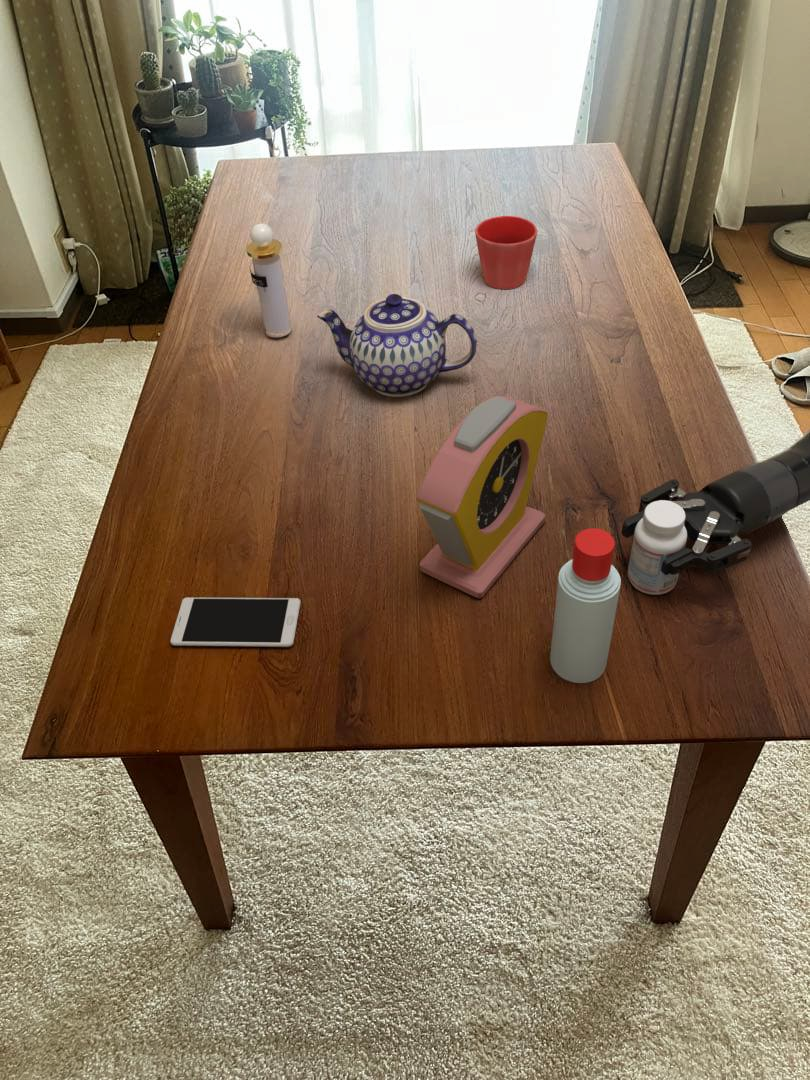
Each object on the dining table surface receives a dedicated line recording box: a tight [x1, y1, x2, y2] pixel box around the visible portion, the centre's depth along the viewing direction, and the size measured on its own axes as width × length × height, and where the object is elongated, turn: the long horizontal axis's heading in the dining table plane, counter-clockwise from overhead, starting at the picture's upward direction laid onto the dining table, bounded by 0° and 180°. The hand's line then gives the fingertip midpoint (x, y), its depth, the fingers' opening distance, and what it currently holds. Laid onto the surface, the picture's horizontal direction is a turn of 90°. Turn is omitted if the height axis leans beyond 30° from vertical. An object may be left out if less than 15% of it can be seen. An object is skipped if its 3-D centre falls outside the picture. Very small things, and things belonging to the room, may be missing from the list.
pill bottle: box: [627, 500, 688, 596], centre depth 107 cm, size 6×6×11 cm
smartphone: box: [169, 596, 302, 648], centre depth 109 cm, size 8×1×15 cm
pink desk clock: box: [416, 395, 549, 599], centre depth 109 cm, size 22×9×22 cm, turn 145°
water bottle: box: [549, 558, 622, 684], centre depth 96 cm, size 6×6×19 cm
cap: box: [572, 527, 616, 581], centre depth 90 cm, size 4×4×4 cm
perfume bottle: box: [245, 222, 292, 338], centre depth 148 cm, size 6×6×20 cm
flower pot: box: [474, 215, 538, 290], centre depth 161 cm, size 11×11×10 cm
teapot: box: [316, 293, 478, 398], centre depth 139 cm, size 25×15×15 cm, turn 76°
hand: (643, 549), depth 106 cm, fingers open, 6 cm apart
